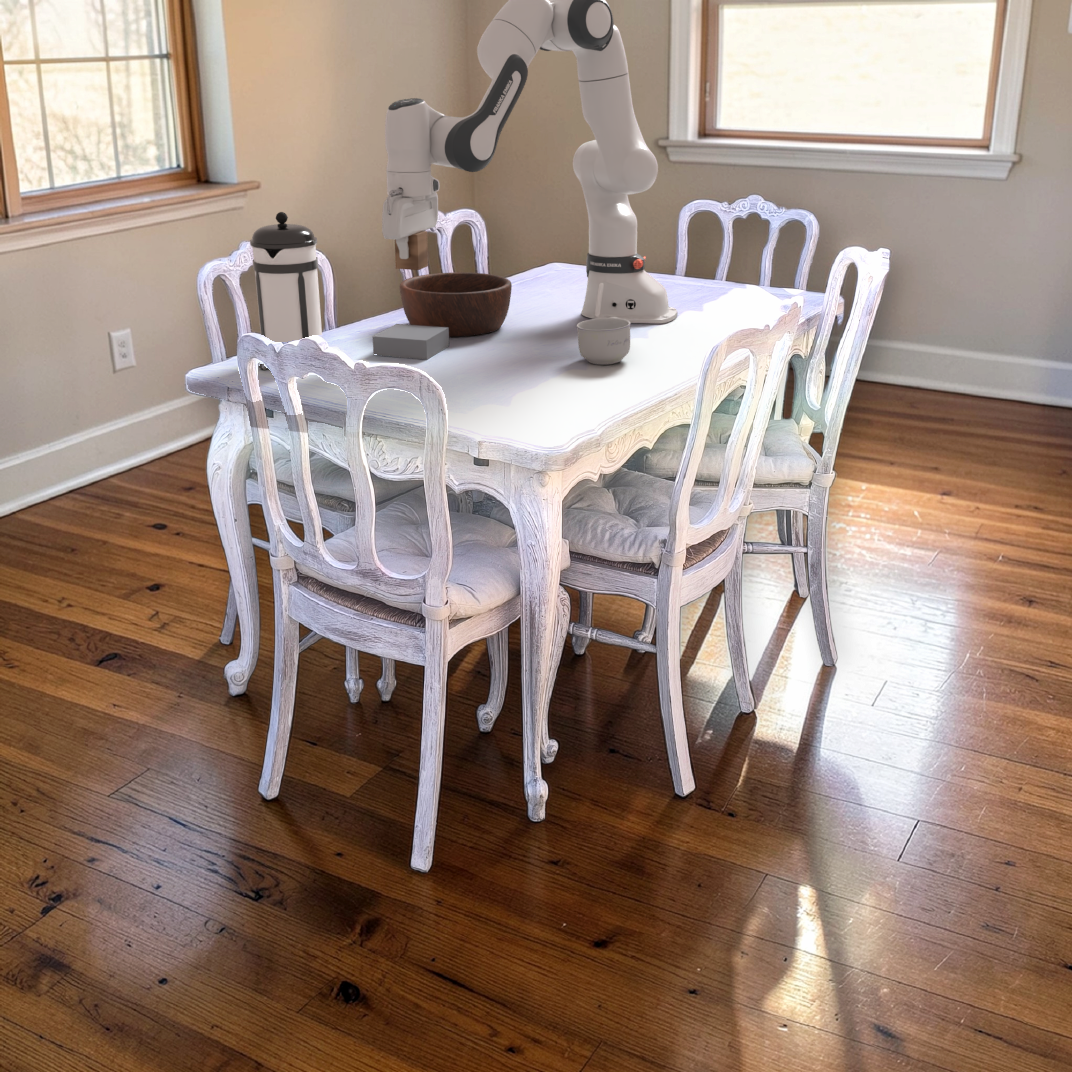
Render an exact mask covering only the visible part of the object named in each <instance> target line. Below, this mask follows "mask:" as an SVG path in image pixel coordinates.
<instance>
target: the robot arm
mask: <svg viewBox="0 0 1072 1072" xmlns="http://www.w3.org/2000/svg"><path fill="white" fill-rule="evenodd" d="M613 16H614V15H613V11H612V9H611V6H610V5H609V3H608V2H607V0H507V2H505V3H504V4H503V6H502V7H501V8H500V9H499V11H498V12H497V13H496V14H495V16H494V17H493V18H492V19H491V21H490V23H489V24H488V25H487V27H486V28H485V30H484V31H483V33H482V35H481V37H480V39H479V41H478V45H477V47H476V53H477V54H476V55H477V59H478V62H479V64H480V66H481V68H482V69H483V71H484V72H485V74H486V75H487V76H488V77H489V78H490V79H491V82H490V84H489V86H488V88H487V90H486V92H485V94H484V95H483V97H482V99H481V101H480V103H479V104H478V107H477V108H476V110H475V111H474V112H473V113H471V114H469V115H466V116H462V117H459V116H451V115H446V114H444V113H441V112H440V111H438V110H436V109H434V108H433V107H431V106H430V105H429V104H427V102H426V101H425V100H424V99H422V98H417V97H416V98H415V97H414V98H405V99H404V98H403V99H399V100H396V101H393V102H392V103H391V104H390V105H389V106H388V108H387V110H386V112H385V113H386V114H385V121H384V122H385V123H384V146H385V151H386V153H387V163H386V167H385V169H386V170H385V171H386V173H385V174H386V193H387V195H388V196H387V197H386V199H385V200H384V201H383V205H382V214H381V233H382V236H383V238H384V239H385V240H395V239H396V243H397V246H398V248H399V254H400V258H401V259H408V258H410V249H409V248H408V243H407V242H408V236H410V235H413V234H416V233H419V232H421V231H426V230H429V229H432V228H435V227H436V226H437V223H438V220H439V219H438V218H439V196H438V193H437V192H439V191H440V187H441V186H440V185H441V184H440V180H439V179H437V178H436V177H434V176H433V175H432V167H431V166H432V165H436V166H442V167H447V168H455V169H459V170H461V171H465V172H467V173H477V172H479V171H482V170H484V169H485V168H486V167H487V166H488V165H489V164H490V163H491V161H492V160H493V158H494V155H495V154H496V150H497V148H498V147H497V146H498V142H499V139H500V136H501V134H502V131H503V129H504V126H505V125H506V124H507V121H508V120H509V117H510V115H511V113H512V112H513V110H514V107H515V105H516V104H517V102H518V100H519V98H520V97H521V94H522V91H523V90H524V89H525V85H526V83H527V80H528V75H529V66H530V64H531V63H532V62H533V60H534V58H535V57H536V55H537V53H538V51H539V50H540V51H546V52H551V51H553V52H571V51H572V53H573V54H574V56H575V58H576V69H577V71H576V72H577V79H578V80H577V81H578V86H579V87H578V88H579V95H580V101H581V102H580V104H581V111H582V115H583V119H584V121H585V122H586V124H588V126H589V128H590V130H591V132H592V133H593V136H594V139H593V140H590V141H586V142H583V143H582V144H581V145H580V146H579V147H578V148H577V149H576V150H575V153H574V154H573V158H572V168H573V169H572V170H573V173H574V175H575V176H576V179H577V180H578V181H579V183H580V186H581V189H582V193H583V197H584V200H585V206H586V211H587V219H588V252H587V254H586V261H585V264H586V265H585V267H586V268H585V269H586V270H585V271H586V277H587V283H586V291H585V297H584V301H583V306H582V309H581V313H580V314H581V315H582V316H583V317H586V318H589V319H591V320H592V319H598V318H611V317H618V318H619V319H625V320H628V321H630V323H631V324H666V323H669V322H672V321H673V320H675V319H676V318H677V317H678V310H677V308H676V307H672V306H669V305H670V304H669V297H668V293H667V289H666V287H664V285H662V284H661V282H659V281H658V280H656V278H655V277H653V276H651V274H649V273H648V272H647V271H646V270H645V269H646V268H645V265H646V262H647V261H646V259H647V258H646V255H645V256H642V255H641V254H639V253H638V251H637V250H638V247H637V246H638V243H637V242H638V218H637V215H636V214H635V212H634V210H633V209H632V207H631V204H630V200H629V195H635V194H639V193H640V194H641V193H643V192H646V191H648V190H649V189H650V188H652V187H653V185H654V183H655V182H656V180H657V178H658V174H659V165H658V161H657V158H656V156H655V154H654V153H653V151H651V149H650V148H649V147H648V145H647V144H646V141H645V139H644V137H643V134H642V131H641V128H640V125H639V124H638V121H637V117H636V114H635V110H634V106H633V99H632V98H633V96H632V89H631V83H630V82H631V81H630V74H629V66H628V59H627V54H626V50H625V46H624V42H623V39H622V35H621V32H620V30H619V28H618V27H617V26H616V25H615V24H614V17H613Z"/></svg>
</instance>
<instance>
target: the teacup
mask: <svg viewBox="0 0 1072 1072" xmlns="http://www.w3.org/2000/svg"><path fill="white" fill-rule="evenodd" d="M631 324H632V323H630V321H628V320H625V319H619V318H618V317H611V318H598V319H592V318H591V319H586V320H583V321H579V322H578V323H577V324H576V329H577V330H576V331H577V343H578V352H579V353H580V355H581V357H582V358H584V359H585V360H586V361H587V362H588V363H590V364H593V365H601V366H602V365H604V366H605V365H613V364H617V363H619V362H621V361H622V360H623V359H624V358H625V357H626V356H627V355H628V354H629V352H630V349H631Z"/></svg>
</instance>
